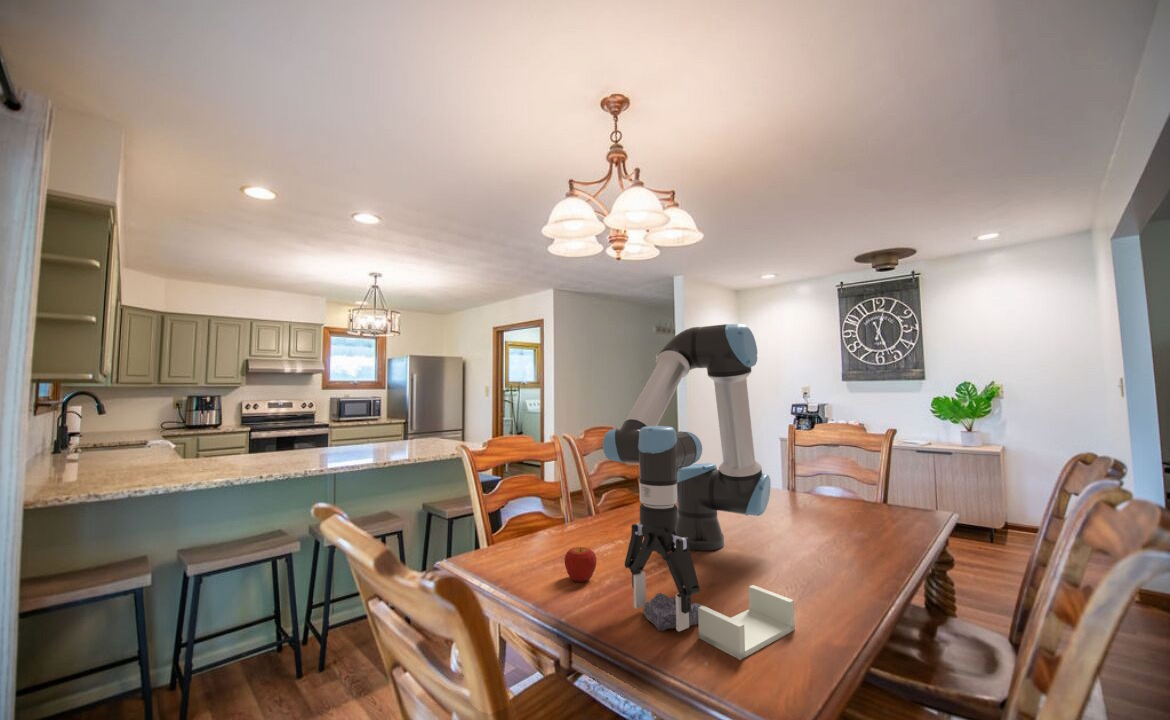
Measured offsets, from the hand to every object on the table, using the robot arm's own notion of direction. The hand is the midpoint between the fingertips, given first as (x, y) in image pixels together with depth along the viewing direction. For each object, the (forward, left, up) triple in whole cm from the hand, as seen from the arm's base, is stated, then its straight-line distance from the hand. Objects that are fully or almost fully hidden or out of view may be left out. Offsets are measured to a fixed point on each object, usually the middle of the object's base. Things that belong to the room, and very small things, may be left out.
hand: (660, 616), depth 94 cm
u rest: (+13, +10, -1) cm, 16 cm away
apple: (-27, 0, -1) cm, 27 cm away
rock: (0, +2, -2) cm, 2 cm away
